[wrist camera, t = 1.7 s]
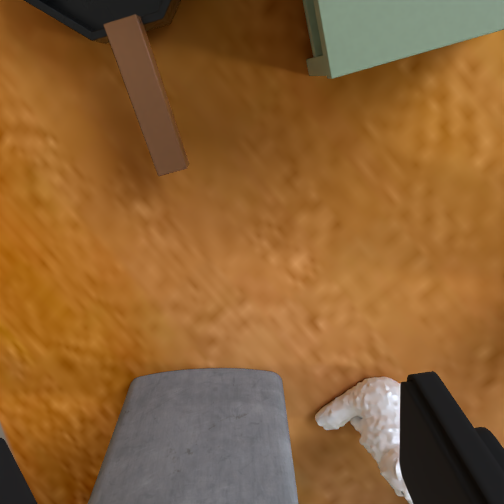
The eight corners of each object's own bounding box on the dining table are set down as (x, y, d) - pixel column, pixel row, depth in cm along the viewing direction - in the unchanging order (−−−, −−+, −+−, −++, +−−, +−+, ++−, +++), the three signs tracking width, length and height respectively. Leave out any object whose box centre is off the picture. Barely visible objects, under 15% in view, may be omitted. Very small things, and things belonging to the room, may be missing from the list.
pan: (160, -209, 25) (143, -268, 21) (251, 140, 33) (253, 150, 29) (-19, -144, 26) (-72, -188, 22) (113, 179, 34) (94, 194, 30)
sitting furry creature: (310, 415, 45) (333, 524, 34) (348, 355, 42) (386, 454, 31) (385, 438, 47) (430, 550, 36) (426, 382, 44) (489, 486, 33)
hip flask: (132, 400, 44) (53, 636, 25) (126, 369, 42) (38, 597, 24) (282, 394, 44) (311, 624, 26) (282, 363, 42) (313, 585, 24)
